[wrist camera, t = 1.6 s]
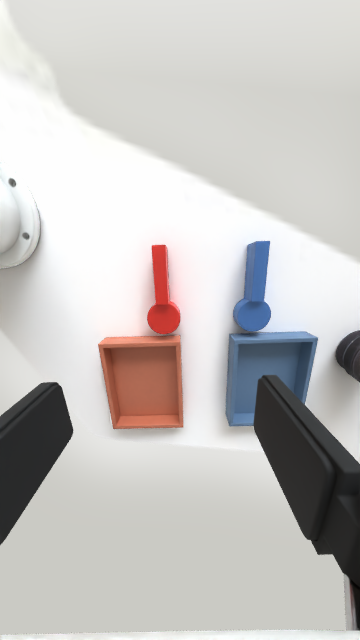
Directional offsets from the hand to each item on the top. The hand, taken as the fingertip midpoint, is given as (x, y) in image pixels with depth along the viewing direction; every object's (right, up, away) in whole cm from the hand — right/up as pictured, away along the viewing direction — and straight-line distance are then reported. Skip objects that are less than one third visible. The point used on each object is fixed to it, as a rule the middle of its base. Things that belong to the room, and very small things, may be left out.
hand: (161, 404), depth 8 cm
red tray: (-4, -5, +19) cm, 21 cm away
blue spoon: (+11, +9, +15) cm, 21 cm away
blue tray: (+14, -5, +19) cm, 24 cm away
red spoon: (-1, +9, +15) cm, 18 cm away
